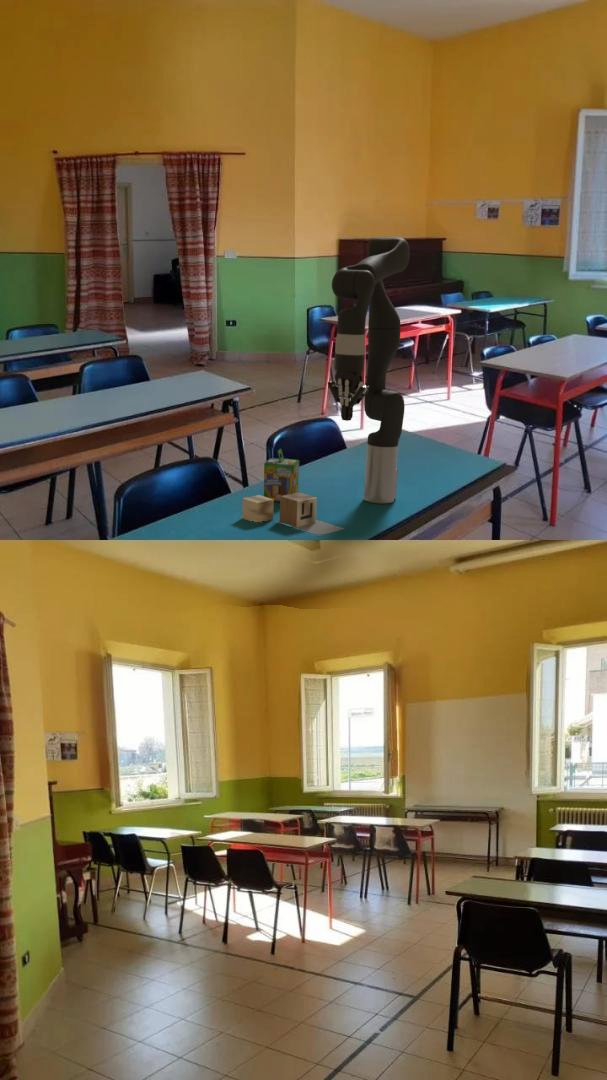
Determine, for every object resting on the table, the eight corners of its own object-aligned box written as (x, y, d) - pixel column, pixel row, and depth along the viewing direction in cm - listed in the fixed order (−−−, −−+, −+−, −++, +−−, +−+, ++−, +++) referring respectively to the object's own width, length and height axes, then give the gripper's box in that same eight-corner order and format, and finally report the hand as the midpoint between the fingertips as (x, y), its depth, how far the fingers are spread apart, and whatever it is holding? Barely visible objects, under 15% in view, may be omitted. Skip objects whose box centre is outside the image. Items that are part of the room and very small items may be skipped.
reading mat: (303, 516, 233) (303, 515, 233) (344, 529, 222) (344, 528, 222) (274, 522, 226) (274, 522, 226) (316, 536, 215) (316, 536, 215)
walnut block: (315, 522, 227) (297, 516, 232) (317, 497, 225) (298, 492, 230) (297, 526, 222) (279, 520, 227) (298, 501, 220) (280, 496, 225)
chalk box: (292, 503, 246) (294, 454, 241) (262, 501, 247) (264, 451, 243) (299, 496, 254) (301, 448, 250) (270, 493, 256) (271, 446, 252)
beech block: (258, 515, 232) (259, 495, 230) (273, 520, 228) (273, 499, 226) (242, 519, 228) (242, 498, 226) (256, 524, 224) (257, 502, 222)
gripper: (379, 354, 210) (375, 422, 215) (341, 349, 219) (337, 415, 224) (359, 355, 205) (355, 425, 210) (321, 350, 213) (318, 417, 219)
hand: (346, 420), depth 217 cm, fingers closed
